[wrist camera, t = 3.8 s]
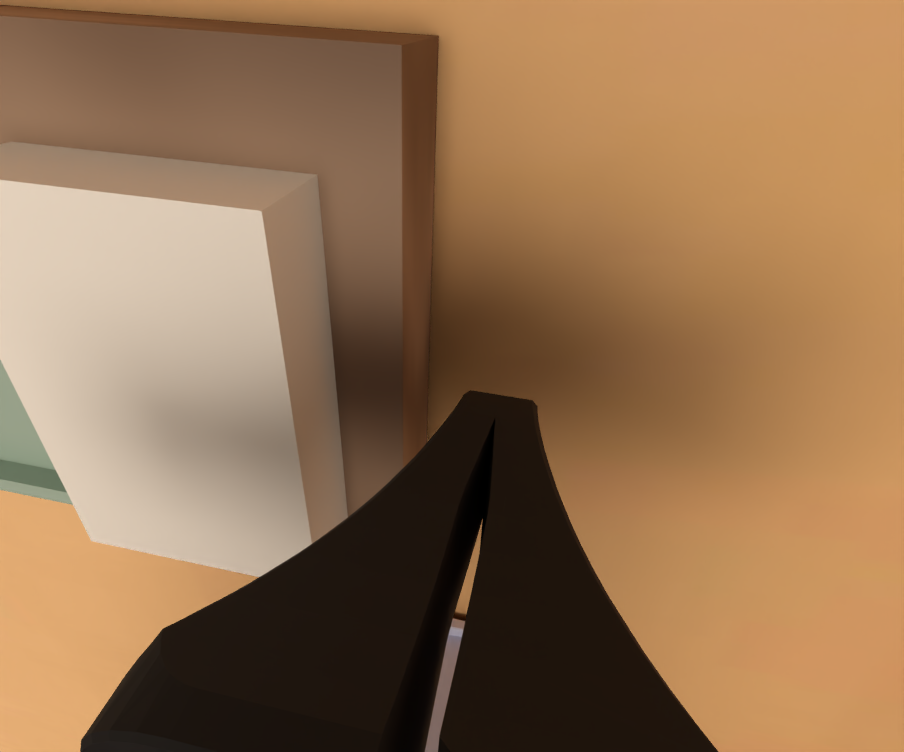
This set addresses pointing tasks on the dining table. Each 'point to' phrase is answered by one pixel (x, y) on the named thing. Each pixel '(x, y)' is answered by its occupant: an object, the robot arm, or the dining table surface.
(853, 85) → the dining table surface
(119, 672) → the dining table surface
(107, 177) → the tile
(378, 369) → the deck
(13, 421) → the tray
